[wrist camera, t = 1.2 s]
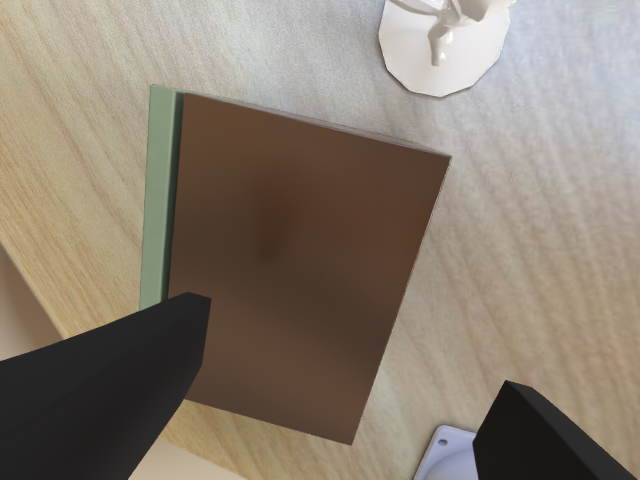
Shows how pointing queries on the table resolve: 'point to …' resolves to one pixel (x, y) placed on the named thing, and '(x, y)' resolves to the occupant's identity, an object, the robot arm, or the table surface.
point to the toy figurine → (442, 41)
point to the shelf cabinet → (296, 257)
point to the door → (161, 190)
